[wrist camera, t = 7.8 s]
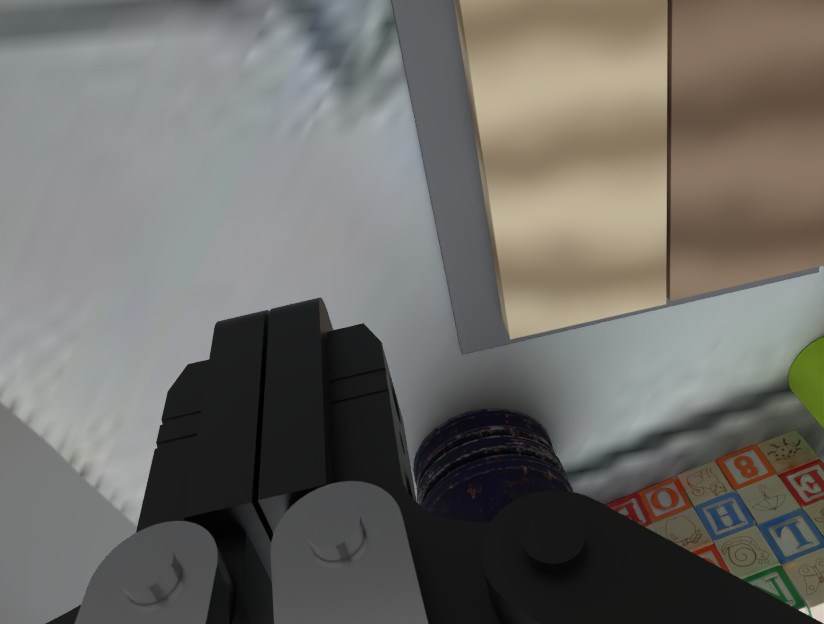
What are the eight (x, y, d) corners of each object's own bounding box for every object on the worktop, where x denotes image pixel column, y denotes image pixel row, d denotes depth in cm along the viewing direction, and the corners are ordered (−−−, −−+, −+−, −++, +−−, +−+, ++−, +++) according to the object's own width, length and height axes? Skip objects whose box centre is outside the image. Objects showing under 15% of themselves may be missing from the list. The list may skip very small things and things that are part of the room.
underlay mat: (363, -138, 31) (364, -137, 30) (887, -262, 31) (896, -263, 30) (460, 349, 46) (462, 354, 45) (814, 268, 45) (818, 272, 45)
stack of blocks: (546, 578, 60) (597, 735, 50) (521, 534, 56) (569, 694, 46) (808, 478, 57) (918, 624, 47) (797, 425, 53) (914, 570, 43)
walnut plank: (653, -149, 31) (673, -146, 30) (863, -198, 31) (895, -198, 30) (656, 282, 44) (670, 301, 42) (806, 247, 44) (825, 264, 42)
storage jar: (438, 527, 55) (478, 737, 42) (389, 438, 49) (419, 650, 37) (568, 482, 54) (647, 684, 41) (533, 387, 48) (614, 586, 36)
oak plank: (438, -97, 31) (446, -92, 30) (649, -147, 31) (668, -144, 30) (502, 319, 44) (510, 339, 42) (652, 285, 44) (666, 304, 42)
